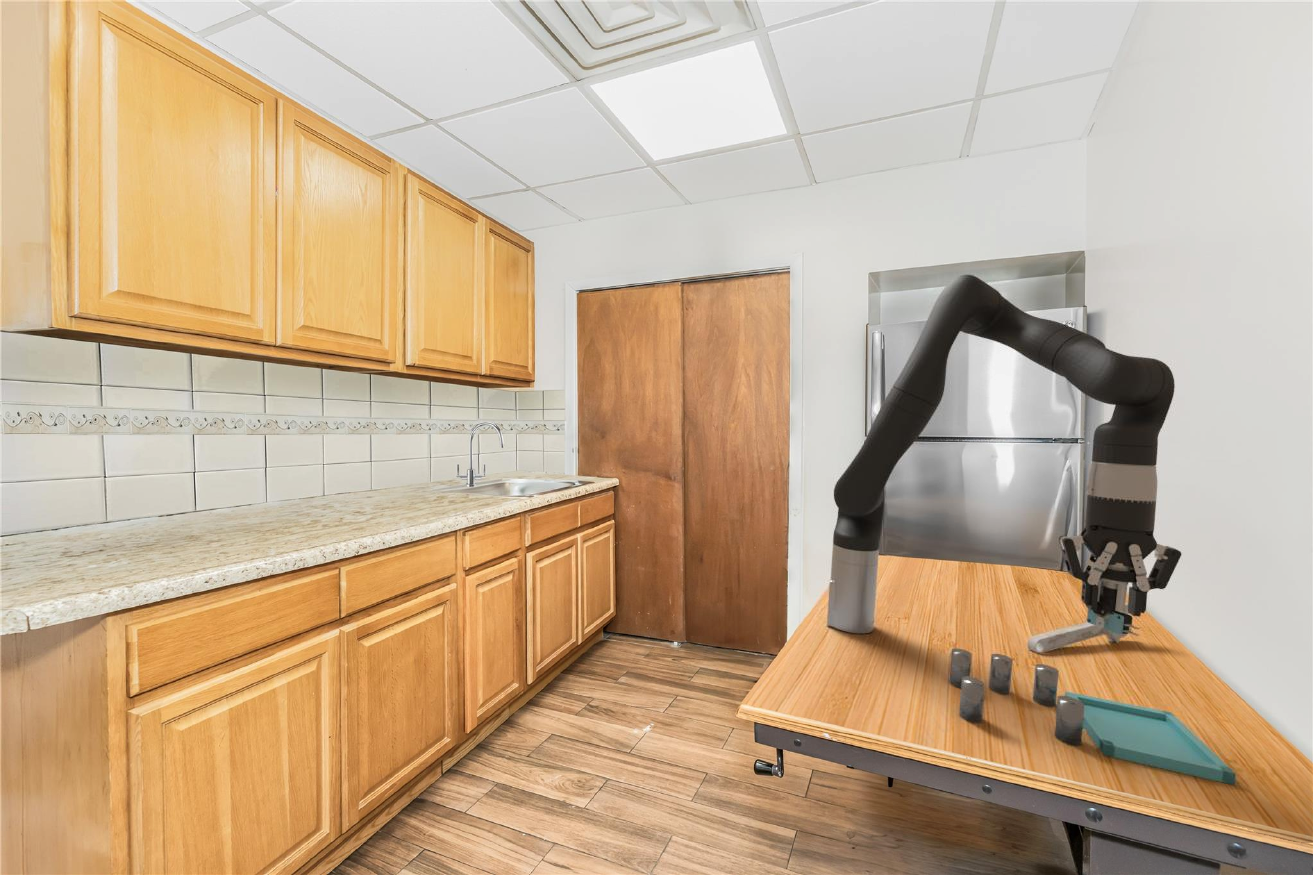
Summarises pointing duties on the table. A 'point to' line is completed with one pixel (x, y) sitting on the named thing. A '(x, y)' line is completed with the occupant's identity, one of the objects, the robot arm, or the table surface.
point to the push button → (1113, 600)
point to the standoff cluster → (1000, 682)
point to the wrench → (1070, 636)
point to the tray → (1149, 738)
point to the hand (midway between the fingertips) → (1112, 611)
